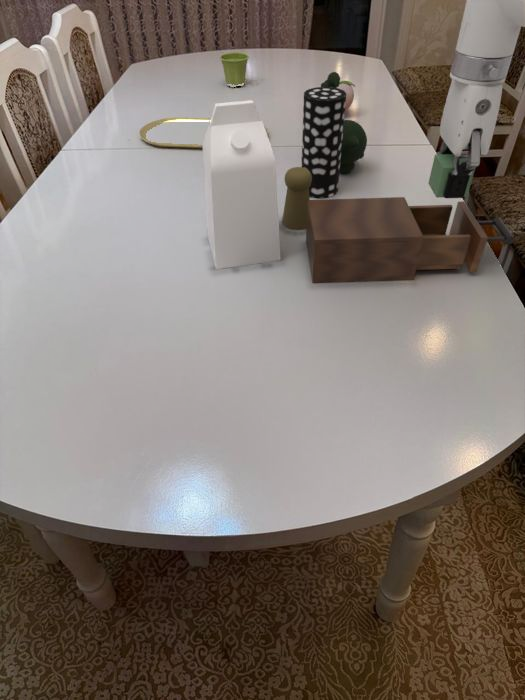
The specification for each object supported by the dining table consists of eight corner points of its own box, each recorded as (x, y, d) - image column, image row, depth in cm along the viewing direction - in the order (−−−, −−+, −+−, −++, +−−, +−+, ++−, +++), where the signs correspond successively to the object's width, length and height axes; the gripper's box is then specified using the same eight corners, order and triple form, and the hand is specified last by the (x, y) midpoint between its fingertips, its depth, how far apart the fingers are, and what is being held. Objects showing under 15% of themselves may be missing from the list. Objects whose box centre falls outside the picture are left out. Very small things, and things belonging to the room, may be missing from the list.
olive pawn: (278, 227, 100) (278, 174, 92) (287, 213, 104) (288, 161, 96) (306, 232, 98) (309, 179, 91) (315, 217, 102) (318, 165, 95)
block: (457, 182, 84) (465, 153, 80) (467, 196, 80) (475, 166, 77) (428, 183, 84) (434, 154, 80) (436, 197, 80) (443, 167, 77)
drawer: (488, 233, 95) (499, 200, 90) (512, 270, 86) (526, 236, 81) (369, 236, 95) (373, 204, 90) (381, 274, 86) (387, 240, 81)
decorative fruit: (326, 122, 141) (328, 83, 134) (317, 112, 146) (319, 75, 140) (357, 118, 142) (361, 80, 135) (347, 109, 148) (350, 72, 141)
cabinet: (396, 238, 96) (404, 196, 90) (413, 280, 86) (423, 236, 80) (305, 241, 96) (307, 199, 90) (312, 283, 86) (314, 240, 80)
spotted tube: (345, 191, 110) (355, 94, 96) (316, 202, 107) (321, 103, 93) (321, 178, 115) (327, 84, 102) (293, 187, 112) (295, 92, 98)
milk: (266, 228, 100) (264, 88, 82) (280, 260, 92) (281, 112, 73) (207, 236, 98) (191, 95, 80) (216, 269, 90) (200, 120, 72)
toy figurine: (307, 150, 131) (333, 184, 112) (309, 69, 119) (338, 91, 100) (342, 147, 132) (374, 180, 113) (347, 66, 120) (383, 88, 101)
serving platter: (262, 153, 126) (262, 146, 125) (130, 148, 130) (129, 142, 129) (271, 125, 140) (271, 120, 138) (152, 122, 144) (151, 116, 143)
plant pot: (254, 82, 168) (253, 53, 162) (242, 91, 162) (240, 61, 156) (229, 79, 171) (228, 51, 165) (217, 88, 165) (214, 58, 159)
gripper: (531, 84, 63) (488, 214, 76) (485, 49, 75) (455, 166, 88) (473, 86, 63) (439, 215, 76) (436, 50, 75) (412, 167, 88)
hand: (448, 187), depth 82 cm, fingers closed on block, 5 cm apart
